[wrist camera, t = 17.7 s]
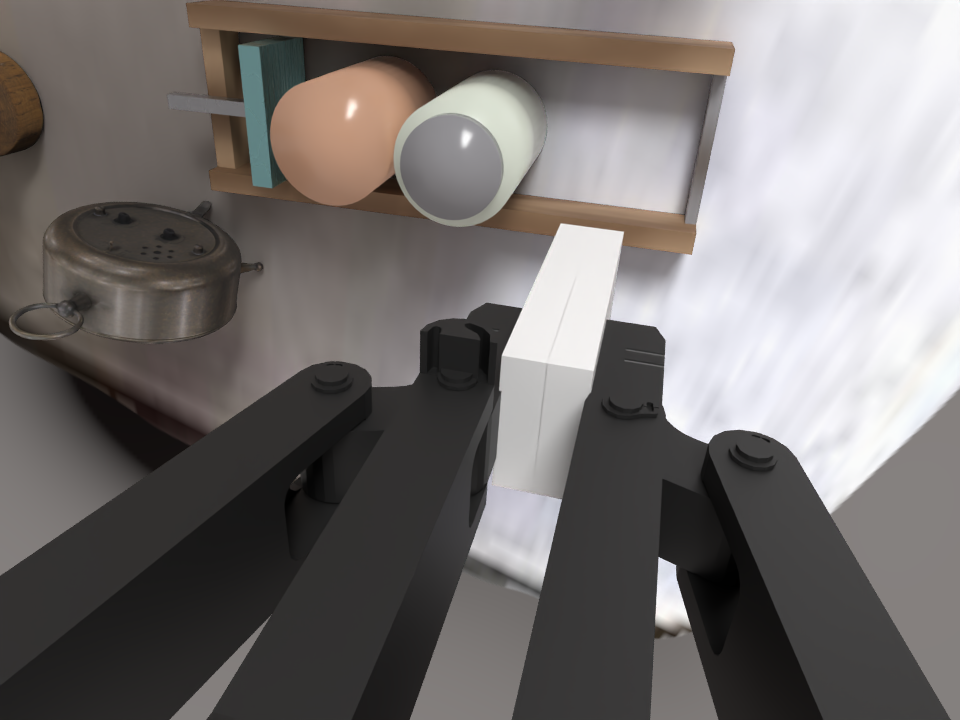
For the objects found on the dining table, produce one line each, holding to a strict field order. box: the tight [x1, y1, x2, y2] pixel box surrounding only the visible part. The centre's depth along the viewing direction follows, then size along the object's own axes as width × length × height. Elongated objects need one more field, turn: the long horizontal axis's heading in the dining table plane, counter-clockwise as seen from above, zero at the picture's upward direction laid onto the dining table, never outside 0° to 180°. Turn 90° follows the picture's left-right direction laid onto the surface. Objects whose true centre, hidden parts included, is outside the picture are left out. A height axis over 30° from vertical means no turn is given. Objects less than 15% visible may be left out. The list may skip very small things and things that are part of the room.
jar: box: [394, 70, 547, 227], centre depth 38 cm, size 6×6×10 cm
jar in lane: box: [270, 56, 436, 206], centre depth 39 cm, size 6×6×9 cm
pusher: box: [167, 36, 305, 188], centre depth 42 cm, size 7×7×5 cm
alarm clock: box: [9, 201, 263, 344], centre depth 43 cm, size 11×5×16 cm, turn 74°
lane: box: [186, 0, 735, 255], centre depth 41 cm, size 10×29×3 cm, turn 87°
